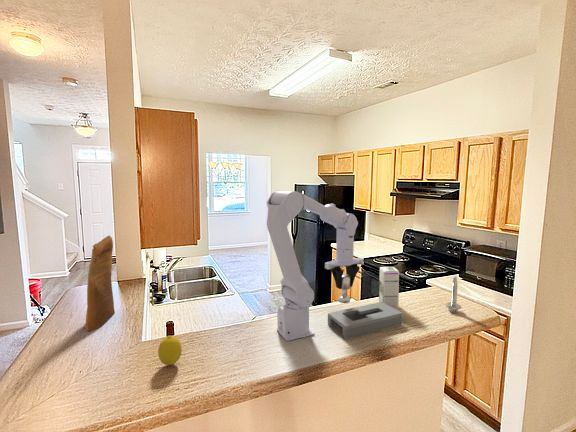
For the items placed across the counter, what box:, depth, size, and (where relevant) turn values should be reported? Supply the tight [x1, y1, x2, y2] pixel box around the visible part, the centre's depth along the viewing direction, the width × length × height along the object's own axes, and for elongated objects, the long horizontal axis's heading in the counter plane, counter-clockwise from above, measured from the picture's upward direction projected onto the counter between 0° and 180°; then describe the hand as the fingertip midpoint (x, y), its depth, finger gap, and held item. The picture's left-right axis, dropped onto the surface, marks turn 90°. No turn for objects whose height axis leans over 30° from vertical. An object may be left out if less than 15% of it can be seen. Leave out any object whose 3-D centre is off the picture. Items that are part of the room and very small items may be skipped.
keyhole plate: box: [327, 301, 404, 340], centre depth 99 cm, size 22×10×4 cm, turn 114°
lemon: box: [157, 335, 183, 366], centre depth 77 cm, size 6×6×8 cm
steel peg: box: [337, 273, 351, 304], centre depth 105 cm, size 4×4×9 cm
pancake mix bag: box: [85, 235, 115, 332], centre depth 102 cm, size 7×19×28 cm, turn 8°
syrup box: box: [378, 266, 400, 311], centre depth 112 cm, size 6×6×14 cm
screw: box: [445, 275, 462, 314], centre depth 108 cm, size 13×5×5 cm
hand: (344, 286), depth 105 cm, fingers closed on steel peg, 4 cm apart
